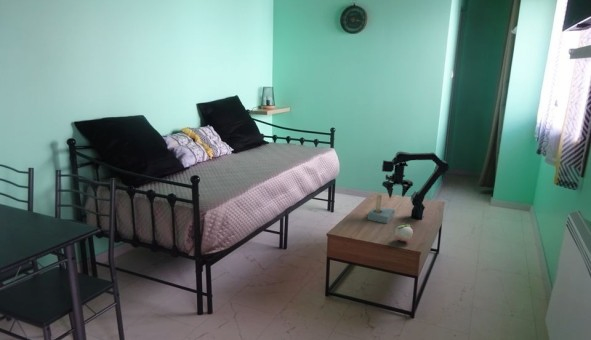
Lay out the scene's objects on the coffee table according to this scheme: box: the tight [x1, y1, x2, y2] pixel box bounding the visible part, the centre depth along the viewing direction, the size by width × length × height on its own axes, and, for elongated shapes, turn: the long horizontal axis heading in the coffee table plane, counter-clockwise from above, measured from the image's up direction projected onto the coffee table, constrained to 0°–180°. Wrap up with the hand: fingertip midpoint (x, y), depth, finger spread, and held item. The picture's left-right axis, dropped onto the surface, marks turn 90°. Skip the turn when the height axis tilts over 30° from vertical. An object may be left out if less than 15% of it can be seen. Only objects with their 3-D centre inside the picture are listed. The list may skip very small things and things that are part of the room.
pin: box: [374, 194, 382, 213], centre depth 244 cm, size 3×3×14 cm
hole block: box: [367, 206, 396, 224], centre depth 246 cm, size 12×16×4 cm
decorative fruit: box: [394, 224, 414, 242], centre depth 211 cm, size 9×8×10 cm
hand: (396, 197), depth 248 cm, fingers open, 9 cm apart
